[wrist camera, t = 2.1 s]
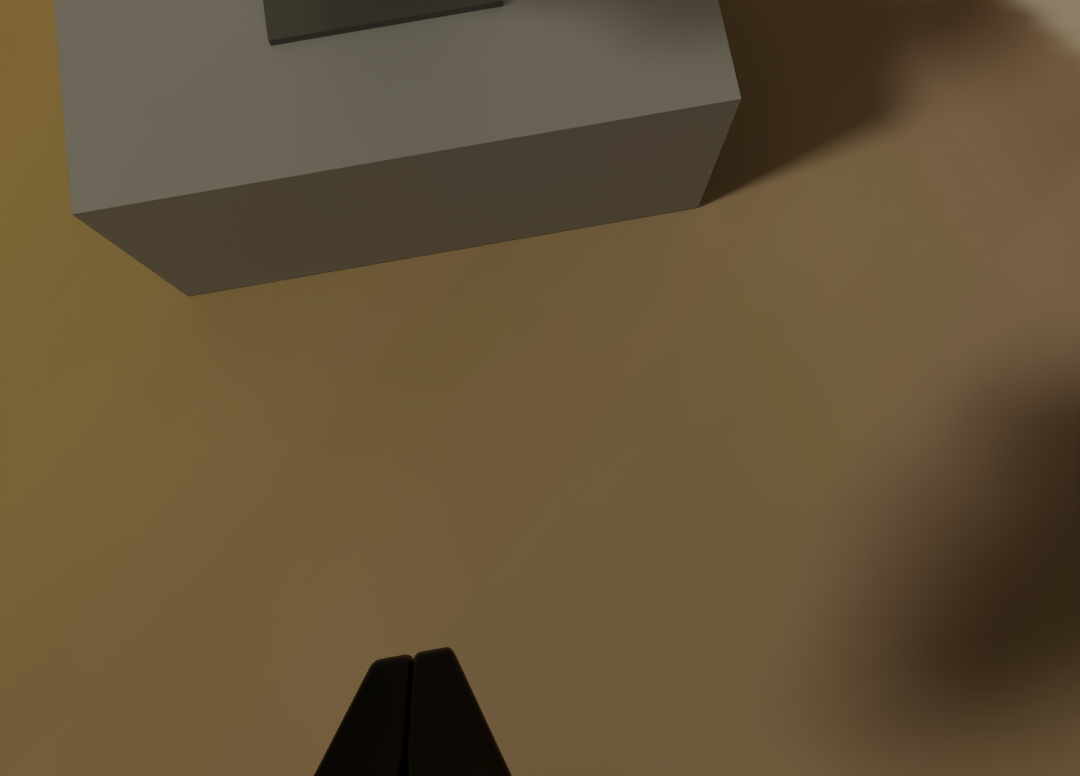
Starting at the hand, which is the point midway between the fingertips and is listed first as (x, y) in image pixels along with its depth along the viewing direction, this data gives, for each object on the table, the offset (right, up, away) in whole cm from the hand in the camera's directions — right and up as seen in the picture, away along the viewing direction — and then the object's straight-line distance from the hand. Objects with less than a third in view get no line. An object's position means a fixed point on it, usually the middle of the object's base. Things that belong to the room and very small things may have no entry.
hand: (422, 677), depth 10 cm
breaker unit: (-2, +12, +16) cm, 20 cm away
